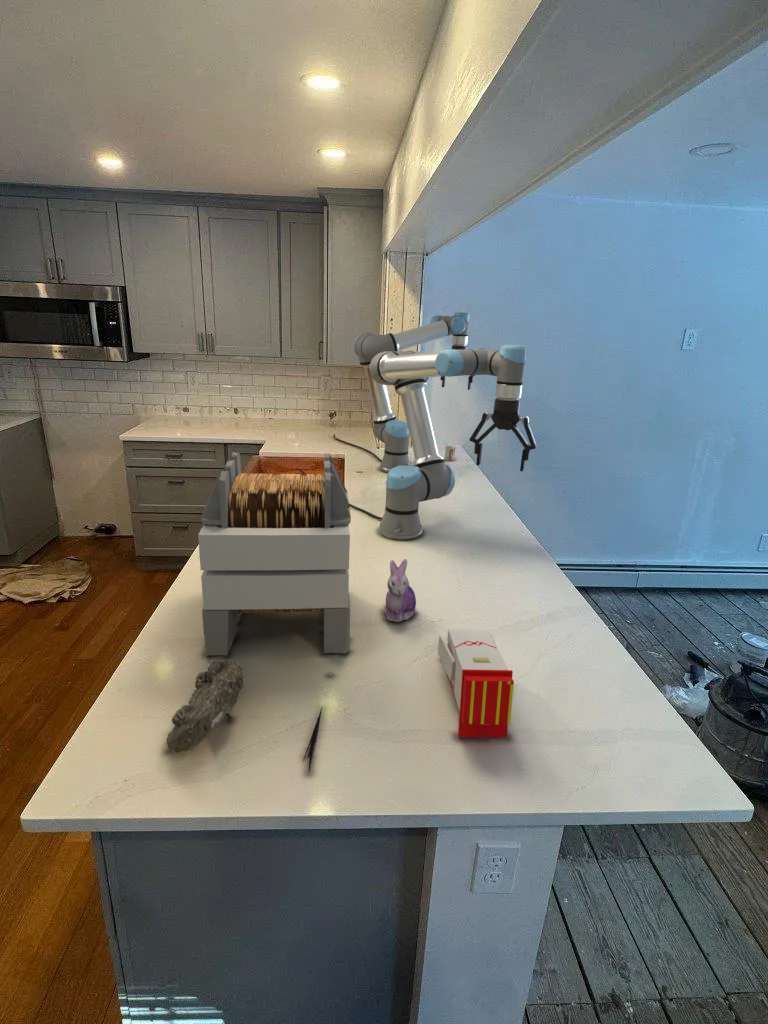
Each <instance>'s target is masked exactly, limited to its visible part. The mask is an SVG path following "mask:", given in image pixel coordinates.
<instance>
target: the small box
mask: <svg viewBox="0 0 768 1024" xmlns="http://www.w3.org/2000/svg"><path fill="white" fill-rule="evenodd" d="M456 447H457V445H456V444H451V443H450V444H449V443H448V444H446V445H445V450H444V451H445V452H444V461H448V462H449V461H450V462H453V461H454V460H455V458H456Z"/></svg>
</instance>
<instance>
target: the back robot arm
mask: <svg viewBox="0 0 768 1024" xmlns="http://www.w3.org/2000/svg"><path fill="white" fill-rule="evenodd" d="M469 327H470V314H469V312H458V311H456V312H455V311H454V314H453V315H452V316H451V315H450V316H449V315H433V316H432V317H431V318H430V322H429V323H428V324H425V325H421V326H418V327H414V328H410V329H407V330H404V331H401V332H397V333H393V332H389V333H385V334H384V333H383V334H375V333H371V332H365V333H361V334H359V335H358V336H357V337H356V338H355V340H354V341H353V342H354V343H353V351H354V353H355V354H356V356H357V357H358V361H359V365H360V367H362V368H363V369H364V374H365V377H366V382H367V386H368V391H369V396H370V399H371V404H372V409H373V412H374V416H373V418H372V422H373V425H372V433H373V435H374V436H375V438H376V439H377V440H379V441H380V442H382V443H383V444H384V451H383V452H384V454H383V455H382V456H383V457H382V459H381V458H380V457H379V456H377V455H376V454H375V453H374V452H373V451H370V450H368V449H367V448H364V447H362V446H359V445H356V444H353V443H350V442H348V441H344V440H342V439H340V438H338V437H336V434H335V433H334V434H333V438H334V440H336V441H339V442H340V443H344V444H346V445H349V446H352V447H355V448H357V449H361V450H363V451H365V452H367V453H369V454H370V455H372V456H374V457H375V458H376V459H377V461H379V462H380V464H379V470H380V471H381V472H383V473H386V474H388V472H389V470H391V469H392V468H394V467H397V466H402V465H405V466H406V465H411V461H410V458H409V446H410V434H409V429H408V425H407V421H404V420H403V421H402V420H399V419H397V414H396V413H395V412H393V409H392V406H391V401H390V396H389V392H388V387H387V385H382V384H379V383H378V382H376V381H375V380H374V379H373V378H372V376H371V374H370V363H371V360H372V359H373V357H374V356H376V355H377V354H379V353H381V352H385V351H404V350H406V349H410V348H412V347H416V346H420V345H422V344H427V343H429V342H432V341H435V340H438V339H442V338H445V337H448V336H452V338H451V339H452V340H451V342H452V343H451V344H452V345H451V349H455V350H468V346H467V345H468V339H469V338H468V337H469ZM475 376H476V375H468V382H467V391H470V390H471V386H472V384H473V383H474V377H475ZM440 381H441V388H445V386H446V385H445V384H446V376H442V377H440Z"/></svg>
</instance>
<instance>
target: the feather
mask: <svg viewBox="0 0 768 1024" xmlns="http://www.w3.org/2000/svg"><path fill="white" fill-rule="evenodd" d="M329 675H330V676H331V675H332V674H331V673H330V674H329ZM322 710H323V707H321V708H320V710H319V713H318V716H317V719H316V723H315V725H314V728H313V731H312V733H311V737H310V739H309V742H308V745H307V748H306V751H305V754H304V757H303V760H302V763H301V767H302V765H303V763H304V761H305V758H308V759H309V760H308V762H307V763H308V764H307V766H308V771H310V770H311V766H312V765H311V764H312V760H313V757H315V756H314V755H315V751H316V749H315V746H317V739H318V733H319V729H320V722H321V717H322V712H323V711H322ZM313 754H314V755H313ZM306 755H307V757H306Z"/></svg>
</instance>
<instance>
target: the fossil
mask: <svg viewBox="0 0 768 1024" xmlns="http://www.w3.org/2000/svg"><path fill="white" fill-rule="evenodd" d="M243 670H244V669H243V667H242V665H240V664H237V662H236V661H235V660H234V659H232V658H231V659H227V658H226V659H224V660H223V661H222V660H217V659H212V660H211V661H210V663H209V665H208V666H207V671H201V672H199V673H198V674H197V675H196V676H195V680H194V684H195V685H194V687H195V689H194V690H193V693H192V694H191V697H190V698H189V700H188V704H184V705H182V706H181V707H180V709H177V710H176V711H175V713H174V715H173V716H172V718H171V723H172V724H173V727H172V730H171V731H170V732H168V734H167V738H166V741H167V742H166V745H167V749H168V750H169V751H173V752H174V753H176V754H178V753H182V752H188V751H189V752H192V751H193V750H195V748H196V747H197V746H199V744H200V743H201V742H203V741H204V740H205V739H206V738H207V737H208V736H209V735H210V734H211V733H212V732H214V730H215V729H217V727H218V726H219V724H220V722H221V721H222V720H223V719H224V718H225V716H226V717H227V719H229V720H233V717H232V715H230V714H229V710H230V709H231V708H234V706H235V704H236V703H237V702H238V699H239V697H240V695H241V693H242V691H243V690H245V689H244V688H245V675H244V671H243Z"/></svg>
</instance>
